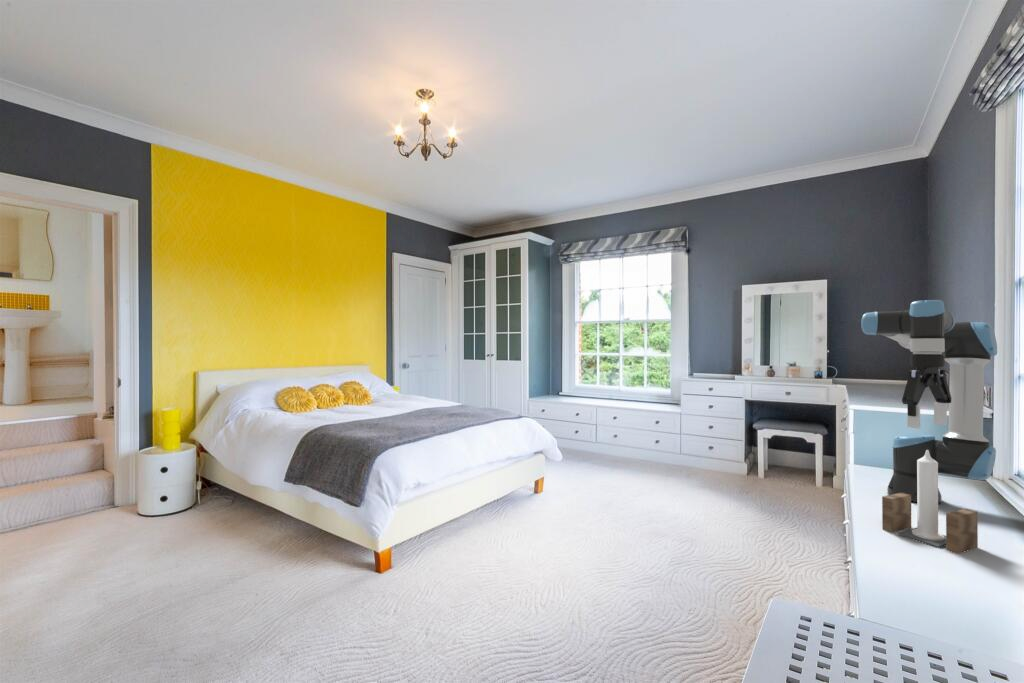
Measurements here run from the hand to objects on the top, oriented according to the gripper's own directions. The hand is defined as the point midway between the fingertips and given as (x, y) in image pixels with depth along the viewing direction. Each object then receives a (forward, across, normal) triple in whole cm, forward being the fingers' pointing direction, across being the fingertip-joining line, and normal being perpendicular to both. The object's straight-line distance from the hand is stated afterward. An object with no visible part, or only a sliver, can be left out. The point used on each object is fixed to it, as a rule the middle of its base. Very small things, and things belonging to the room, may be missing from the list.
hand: (927, 426), depth 135 cm
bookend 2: (+32, 0, +8) cm, 33 cm away
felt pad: (+32, 0, 0) cm, 32 cm away
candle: (+32, 0, 0) cm, 32 cm away
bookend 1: (+32, 0, -8) cm, 33 cm away
